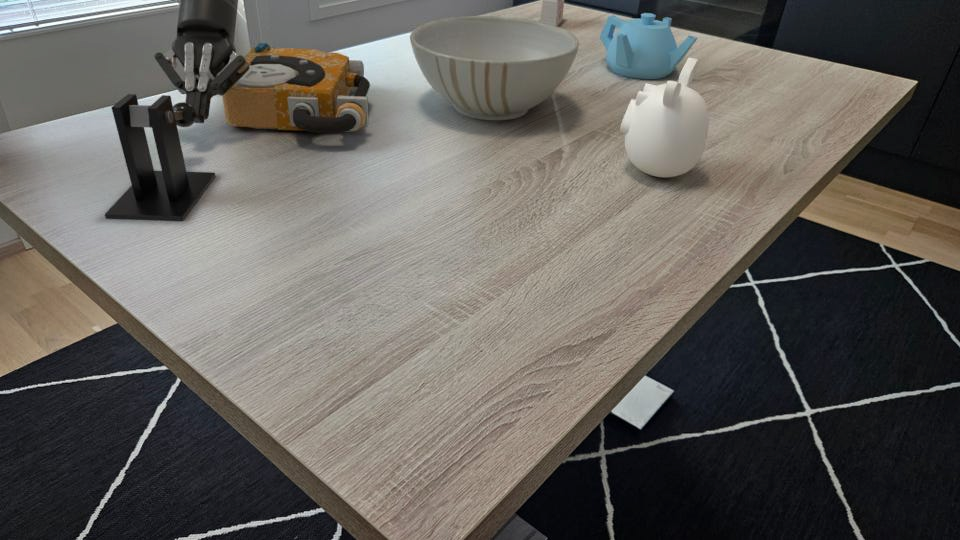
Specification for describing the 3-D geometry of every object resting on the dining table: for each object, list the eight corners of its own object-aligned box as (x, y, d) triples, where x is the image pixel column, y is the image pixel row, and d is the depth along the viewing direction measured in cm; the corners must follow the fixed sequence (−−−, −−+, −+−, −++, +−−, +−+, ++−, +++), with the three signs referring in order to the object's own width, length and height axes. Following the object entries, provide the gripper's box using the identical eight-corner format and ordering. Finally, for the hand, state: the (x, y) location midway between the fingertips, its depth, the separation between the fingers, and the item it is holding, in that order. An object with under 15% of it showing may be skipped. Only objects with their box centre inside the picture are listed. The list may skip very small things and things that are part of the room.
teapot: (666, 59, 147) (676, 5, 141) (690, 82, 134) (702, 24, 128) (594, 58, 145) (601, 4, 139) (612, 81, 133) (620, 23, 127)
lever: (176, 126, 94) (175, 102, 93) (200, 127, 94) (199, 102, 93) (126, 130, 80) (124, 101, 79) (154, 131, 80) (152, 102, 79)
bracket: (147, 178, 92) (124, 82, 85) (216, 180, 92) (198, 85, 85) (106, 223, 82) (76, 118, 75) (184, 225, 82) (160, 121, 75)
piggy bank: (614, 151, 105) (629, 50, 97) (694, 159, 103) (716, 58, 95) (613, 188, 95) (630, 78, 86) (701, 197, 93) (727, 87, 85)
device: (384, 41, 121) (359, 100, 96) (386, 88, 125) (362, 156, 100) (252, 36, 120) (192, 94, 95) (258, 83, 125) (202, 151, 100)
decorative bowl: (456, 152, 103) (457, 70, 96) (386, 95, 122) (384, 23, 115) (603, 125, 114) (613, 50, 107) (518, 76, 133) (522, 10, 127)
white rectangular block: (540, 26, 165) (544, -19, 160) (547, 20, 171) (551, -24, 165) (555, 28, 164) (559, -17, 159) (562, 21, 170) (566, -22, 164)
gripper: (263, 23, 103) (252, 133, 100) (172, 19, 103) (158, 130, 100) (248, -7, 96) (235, 110, 92) (150, -11, 96) (134, 107, 92)
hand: (195, 120), depth 96 cm, fingers closed
